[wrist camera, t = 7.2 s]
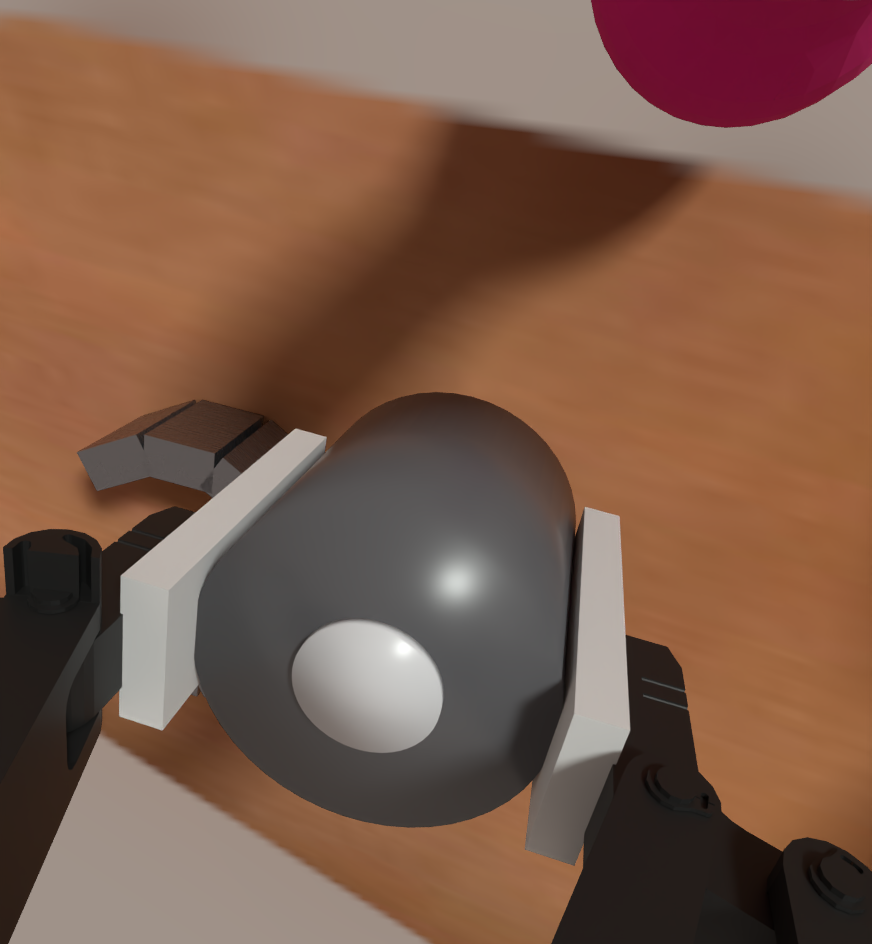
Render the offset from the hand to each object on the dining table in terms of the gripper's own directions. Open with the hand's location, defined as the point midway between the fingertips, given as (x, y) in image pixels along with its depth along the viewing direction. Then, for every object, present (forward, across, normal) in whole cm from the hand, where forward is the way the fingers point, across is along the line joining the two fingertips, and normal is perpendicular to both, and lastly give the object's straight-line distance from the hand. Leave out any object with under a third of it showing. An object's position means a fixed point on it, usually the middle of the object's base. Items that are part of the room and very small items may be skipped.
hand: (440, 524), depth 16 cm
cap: (0, 0, 0) cm, 0 cm away
